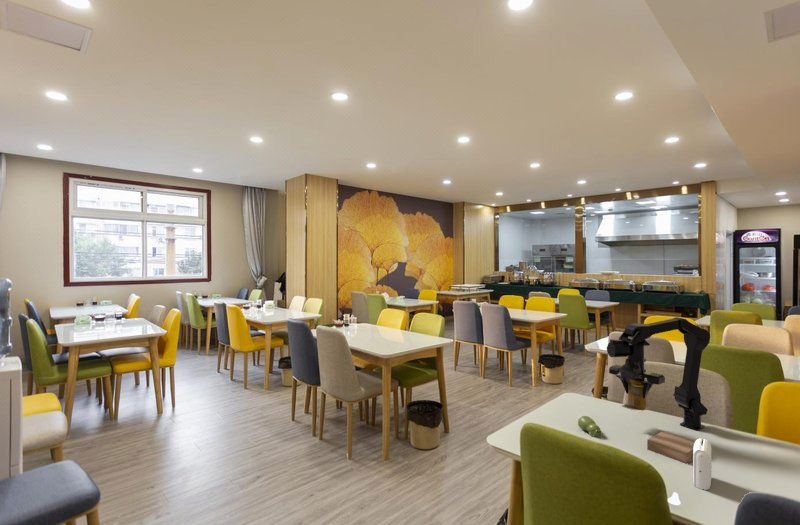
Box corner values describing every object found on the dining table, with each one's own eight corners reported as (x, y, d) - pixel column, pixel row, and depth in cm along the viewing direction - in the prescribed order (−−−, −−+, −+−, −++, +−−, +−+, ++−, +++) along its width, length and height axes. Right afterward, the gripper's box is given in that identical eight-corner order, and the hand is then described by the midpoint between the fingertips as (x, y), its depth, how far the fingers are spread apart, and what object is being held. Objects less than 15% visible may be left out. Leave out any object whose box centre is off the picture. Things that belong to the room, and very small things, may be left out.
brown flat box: (663, 441, 147) (663, 430, 146) (701, 454, 137) (701, 443, 137) (647, 450, 140) (647, 439, 140) (686, 465, 130) (686, 453, 130)
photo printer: (710, 492, 114) (710, 449, 114) (692, 486, 117) (692, 445, 117) (712, 477, 122) (712, 437, 122) (694, 472, 125) (694, 433, 125)
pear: (587, 412, 159) (606, 426, 150) (585, 424, 160) (604, 439, 151) (575, 414, 158) (594, 428, 148) (574, 426, 159) (592, 441, 149)
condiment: (650, 407, 157) (650, 377, 156) (639, 412, 152) (639, 381, 152) (631, 402, 163) (631, 373, 163) (620, 406, 158) (620, 376, 158)
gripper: (601, 354, 160) (601, 393, 160) (651, 364, 145) (651, 407, 145) (616, 350, 166) (616, 387, 167) (665, 360, 151) (665, 401, 151)
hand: (635, 395), depth 157 cm, fingers closed on condiment, 6 cm apart
